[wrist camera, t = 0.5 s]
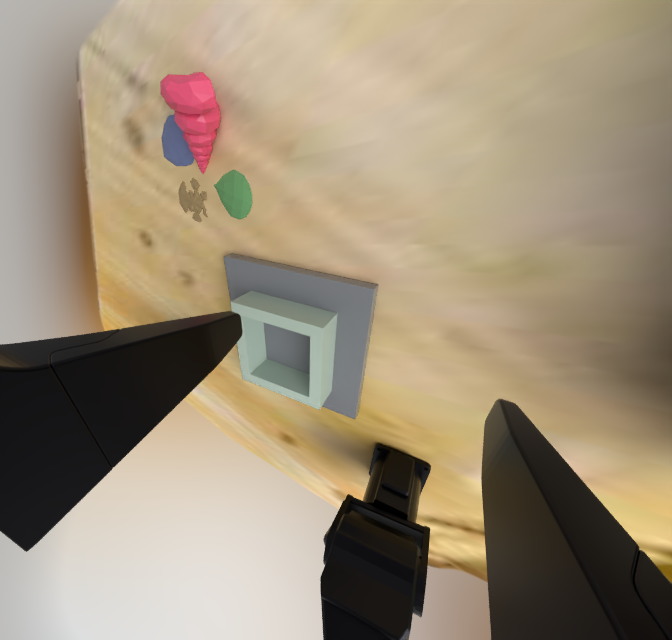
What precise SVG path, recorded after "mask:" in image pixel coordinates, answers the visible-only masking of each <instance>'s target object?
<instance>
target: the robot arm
mask: <svg viewBox="0 0 672 640" xmlns="http://www.w3.org/2000/svg"><path fill="white" fill-rule="evenodd" d="M242 333H243V330H242V321H241V316H240V315H239V314H238V313H235V312H232V311H227V312H220V313H214V314H208V315H202V316H196V317H190V318H184V319H178V320H171V321H165V322H159V323H153V324H147V325H141V326H135V327H129V328H122V329H121V330H120V329H116V330H110V331H104V332H97V333H91V334H84V335H77V336H69V337H61V338H54V339H46V340H38V341H31V342H22V343H14V344H4V345H3V344H2V345H0V531H1V532H2V533H3V534H5V535H6V536H7V537H8V538H10V539H11V540H12V541H13V542H15V543H16V544H17V545H18V546H20V547H21V548H22V549H23V550H24V551H26V552H27V551H28V550H30V549H31V548H32V547H33V546H34V545H35V544H37V543H38V542H39V541H40V540H41V539H42V538H43V537H44V536H45V535H46V534H47V533H48V532H49V531H50V530H51V529H52V528H53V527H54V526H55V525H56V524H57V523H58V522H59V521H60V520H61V519H62V518H63V517H64V516H65V515H66V514H67V513H68V512H69V511H70V510H71V509H72V508H73V507H74V506H75V505H76V504H77V503H78V502H79V501H80V500H81V499H82V498H83V497H85V496H86V495H87V493H88V492H90V491H91V490H92V489H93V488H94V487H95V486H96V485H97V484H98V483H99V482H100V481H101V480H102V479H103V478H104V477H105V476H106V475H107V474H108V473H109V472H110V471H111V470H112V468H113V467H115V466H116V465H117V464H118V463H119V462H120V461H121V460H122V459H123V458H124V457H125V456H126V455H127V454H128V453H129V452H130V451H131V450H132V449H133V448H134V447H135V446H136V445H137V444H138V443H139V442H140V441H141V440H142V439H143V438H144V437H145V436H146V435H147V434H148V433H149V432H150V431H151V430H152V429H153V428H154V427H155V426H156V425H158V424H159V423H160V422H161V421H162V420H163V419H164V418H165V417H166V416H167V415H168V414H169V413H170V412H171V411H172V410H173V409H174V408H175V407H176V406H177V405H178V404H179V403H180V402H181V401H182V400H183V399H184V398H185V397H186V396H187V395H188V394H189V393H190V392H191V391H192V390H193V389H194V388H195V387H196V386H197V385H198V384H199V383H200V382H201V381H202V380H203V379H204V378H205V377H206V376H207V375H208V374H209V373H211V372H212V371H213V370H214V368H215V367H216V366H217V365H218V364H219V363H220V362H221V361H222V360H223V358H224V357H225V356H226V355H227V354H228V352H229V351H230V350H231V349H232V348H233V347H234V345H235V344H236V343H237V342H238V341H239V339H240V338H241V336H242ZM430 470H431V466H430V465H429V464H428V463H425V462H423V461H421V460H418V459H416V458H413V457H411V456H409V455H406V454H404V453H401V452H399V451H397V450H394V449H392V448H389V447H387V446H384V445H382V444H379V443H377V444H376V445H375V449H374V453H373V458H372V462H371V467H370V471H369V475H370V479H369V483H368V486H367V489H366V492H365V495H364V499H363V501H361V500H359V499H356V498H354V497H353V496H352V495H349V494H348V495H347V497H346V499H345V501H343V503H342V505H341V507H340V509H339V511H338V514H337V515H336V517H335V519H334V521H333V523H332V525H331V527H330V528H329V530H328V531H327V533H326V534H325V537H324V543H325V552H324V560H323V561H324V564H325V567H324V570H323V573H322V575H321V601H322V619H323V635H324V636H323V637H324V640H408V639H409V634H410V629H411V621H412V614H413V613H414V614H416V615H418V616H419V617H421V616H422V611H423V604H424V595H425V587H426V577H427V564H428V551H429V537H430V528H429V527H427V526H421V525H419V524H417V523H416V519H417V511H418V504H419V497H420V494H421V492H422V489H423V487H424V485H425V482H426V480H427V478H428V475H429V473H430ZM482 497H483V513H484V529H485V545H486V560H487V576H488V592H489V608H490V623H491V640H672V583H671V582H670V581H669V580H668V579H667V578H666V577H665V575H664V574H663V573H662V572H661V571H660V570H659V569H658V567H657V566H656V565H655V564H654V563H653V562H652V560H651V559H650V558H649V557H648V556H647V555H646V554H645V552H643V551H642V550H639V546H638V544H637V543H636V542H635V541H634V540H633V539H632V538H631V536H630V535H629V534H628V533H627V532H626V531H625V529H624V528H623V527H622V526H621V525H620V524H619V523H618V521H617V520H616V519H615V518H614V517H613V516H612V514H611V513H610V512H609V511H608V510H607V509H606V507H605V506H604V505H603V504H602V503H601V502H600V501H599V499H598V498H597V497H596V496H595V495H594V494H593V492H592V491H591V490H590V489H589V488H588V487H587V486H586V484H585V483H584V482H583V481H582V480H581V479H580V477H579V476H578V475H577V474H576V473H575V472H574V471H573V469H572V468H571V467H570V466H569V465H568V464H567V462H566V461H565V460H564V459H563V458H562V457H561V455H560V454H559V453H558V452H557V451H556V450H555V449H554V447H553V446H552V445H551V444H550V443H549V442H548V440H547V439H546V438H545V437H544V436H543V435H542V434H541V432H540V431H539V430H538V429H537V428H536V427H535V425H534V424H533V423H532V422H531V421H530V420H529V418H528V417H527V416H526V415H525V414H524V413H523V412H522V410H521V409H520V408H519V407H518V406H517V405H516V404H515V403H513V402H509V401H506V400H503V399H498V400H497V401H496V402H495V404H494V405H493V407H492V409H491V411H490V413H489V414H488V416H487V418H486V421H485V427H484V442H483V458H482Z"/></svg>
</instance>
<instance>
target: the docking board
mask: <svg viewBox="0 0 672 640" xmlns="http://www.w3.org/2000/svg"><path fill="white" fill-rule="evenodd" d="M224 262H225V268H226V274H227V281H228V287H229V293H230V300H231V308H232V312H235V313H238V314H239V315H240V316H241V321H242V330H243V333H242V336H241V338H240V339H239V341H238V342H237V346H238V353H239V359H240V365H241V372H242V378H243V379H244V380H247V381H249V382H252V383H254V384H257V385H259V386H262V387H264V388H267V389H269V390H271V391H274V392H276V393H279V394H281V395H284V396H286V397H289V398H291V399H294V400H296V401H299V402H301V403H304V404H306V405H309V406H311V407H314V408H316V409H319V410H320V408H321V407H325V408H327V409H330V410H332V411H335V412H337V413H340V414H342V415H345V416H348V417H350V418H353V419H355V418H356V416H357V414H358V412H359V405H360V399H361V392H362V386H363V380H364V373H365V367H366V360H367V354H368V347H369V341H370V334H371V328H372V321H373V315H374V309H375V302H376V296H377V289H378V285H377V284H373V283H368V282H363V281H358V280H354V279H349V278H344V277H340V276H335V275H330V274H326V273H321V272H316V271H312V270H307V269H302V268H297V267H293V266H288V265H283V264H279V263H274V262H269V261H265V260H260V259H255V258H251V257H246V256H241V255H237V254H229V255H226V256H224Z"/></svg>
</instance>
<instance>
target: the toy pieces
mask: <svg viewBox="0 0 672 640" xmlns="http://www.w3.org/2000/svg"><path fill="white" fill-rule="evenodd" d="M160 85H161V95H162V96H163V98H164V100H165V101H166V103H167V104H168V105H169V107H170V108H171V109H173V110H175V115H169V116H168V118H167V120H166V122H165V124H164V129H163V134H162V145H163V152H164V157H165V158H166V159H167V160H169V161H170V162H172V163H173V164H174V165H176V166H188V165H190V164H192V163H193V161H194V158H195V159H196V160H197V163H198V166H199V167H200V170H201V172H202V173H203V174H204V172H205V169H206V167H207V164H208V163H209V162H208V159H210V155H211V154H210V153H211V152H212V146H213V145H212V144H213V142H214V140H215V138H216V130H215V129H217V128H218V127H219V124H220V119H221V115H220V109H219V105H218V104H217V102H216V98H215V93H214V90H213V87H212V83H211V80H210V79H209V78H208V77H207V76H206V75H205V74H204V73H203V72H198V73H193V74H190V75H167V76H166V77H165V78H164V79H163V80H162V81H161V82H160ZM190 182H191V185H192V187H193V189H194V193H192V191H189V193H187V191H186V186H185V182H184V181H183V182H182V183H181V185H180V188H179V200H180V204H181V206H182V208H183V210H184V211H185V212H186V213H187V211H188V208H189V209H190V211H191V212H192V211H193V212H194V211H195V213H194V214H193V219H194V220H195V221H198V222H201V221H202V220H201V218H200V215H199V214H200V212H201V210H202V209H203V214H204V215H205V216H206V217H207V214H206V209H205V206H204V204H203V201H204V200H206V198H207V194H206V192H203V191H202V193H201V194H200V195H199V193H198V192H197V191H198V187H199V186H200V185H199V183H198V182H197V180H195V179H194V178H193V179H192V180H191V181H190ZM214 186H215V188H216V190H217V192H218V194H219V197H220V199H221V201H222V203H223V205H224V207H225V208H226V210H227V211H228V213H229V214H230V216H232V217H234V218H237V219H243V218H245V217H246V216H247V215H248V213H249V212H250V210H251V206H252V193H251V189H250V185H249V183H248V181H247V180H246V178H245V176H244V175H243V174H241V173H239V172H238V171H236V170H232V171H230V172H228V173H226V174H225V175H223V176H222V178H221V179H220V180H219V181H218V182H217V184H215V185H214ZM200 196H201V197H200Z"/></svg>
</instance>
